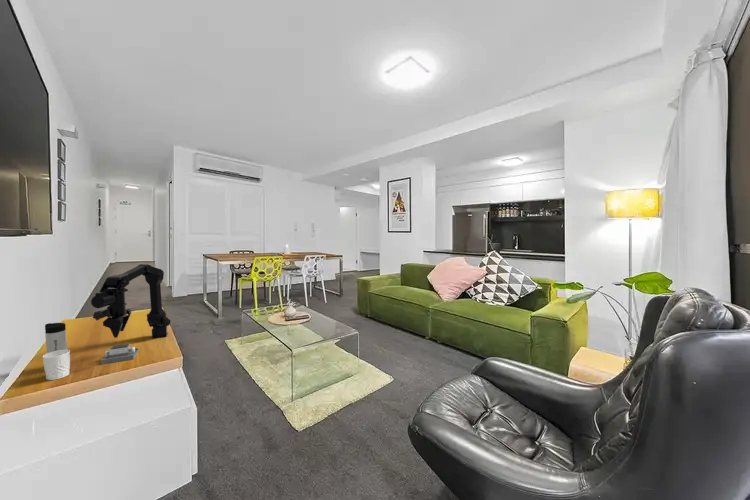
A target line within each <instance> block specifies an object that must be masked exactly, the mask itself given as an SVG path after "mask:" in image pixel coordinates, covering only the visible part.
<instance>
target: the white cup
mask: <svg viewBox="0 0 750 500" xmlns="http://www.w3.org/2000/svg"><path fill="white" fill-rule="evenodd" d="M42 364H43V367H44V368H43V369H44V373H45V378H46V380H47V381H54V380H59V379H63V378H65V377H67V376H69V375H70V374H71V373H70V367H71V350H70V349H67V350H58V351H53V352H50V353H47V352H46V353H45V354H43V355H42Z"/></svg>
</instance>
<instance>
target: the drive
mask: <svg viewBox="0 0 750 500" xmlns="http://www.w3.org/2000/svg"><path fill="white" fill-rule="evenodd" d="M131 349H132V347H131V343H125V344H117V345H113V346H111V347H110V348H109V349H108V352H109V358H114V357H121V356H128V355H129V354H130V352H131Z"/></svg>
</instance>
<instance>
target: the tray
mask: <svg viewBox="0 0 750 500" xmlns="http://www.w3.org/2000/svg"><path fill="white" fill-rule="evenodd" d="M138 353H139V347H135V346H132V347H131V352H130V354H129V355H128V356H121V357H114V358H109V350H104V357H103V358H101V359H100V365H105V364H111V363H117V362H118V363H119V362H125V361H131V360H134V359H135V358H136V356H137V355H138Z"/></svg>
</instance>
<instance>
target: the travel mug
mask: <svg viewBox="0 0 750 500" xmlns="http://www.w3.org/2000/svg"><path fill="white" fill-rule="evenodd" d="M44 330H45V332H44V333H45V346H46V354H47V353H50V352H53V351H58V350H68V340H67V338H68V337H67V328H66V323H64V322H53V323H52V322H50V323H49V322H48V323H46V324H44Z"/></svg>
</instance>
